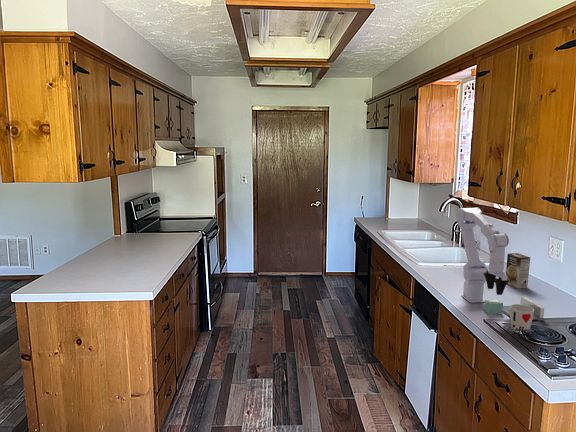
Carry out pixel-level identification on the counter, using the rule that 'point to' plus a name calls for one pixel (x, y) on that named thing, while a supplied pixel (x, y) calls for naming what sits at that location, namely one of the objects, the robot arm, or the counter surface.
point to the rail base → (526, 301)
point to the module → (493, 306)
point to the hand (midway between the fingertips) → (494, 291)
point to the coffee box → (517, 270)
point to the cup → (521, 317)
